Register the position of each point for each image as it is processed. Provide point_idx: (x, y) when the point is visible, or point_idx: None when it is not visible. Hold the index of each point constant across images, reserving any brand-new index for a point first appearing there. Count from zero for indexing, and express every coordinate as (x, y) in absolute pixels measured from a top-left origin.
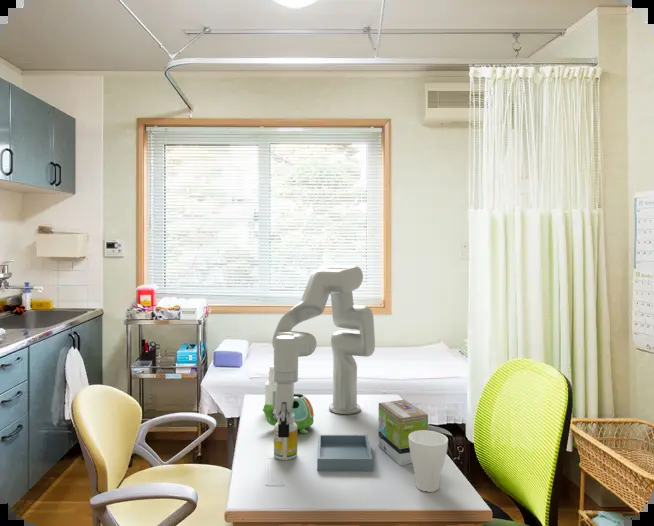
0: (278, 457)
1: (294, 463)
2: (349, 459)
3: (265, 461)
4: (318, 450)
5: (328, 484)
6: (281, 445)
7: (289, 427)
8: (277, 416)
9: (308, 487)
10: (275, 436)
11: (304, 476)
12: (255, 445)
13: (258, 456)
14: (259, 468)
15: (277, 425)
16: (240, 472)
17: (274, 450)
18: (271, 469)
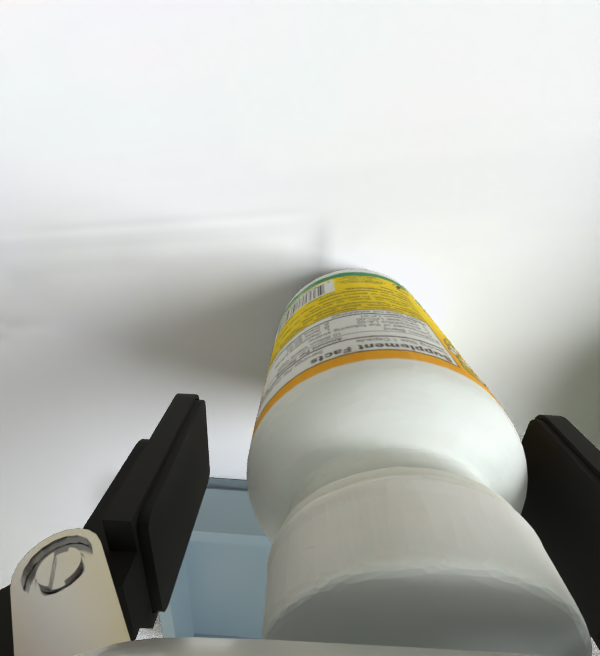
0: (289, 302)
1: (243, 383)
2: (162, 626)
3: (269, 212)
4: (252, 538)
5: (52, 502)
6: (271, 360)
7: (271, 541)
8: (401, 543)
9: (3, 434)
10: (311, 340)
11: (103, 423)
12: (582, 99)
13: (356, 150)
14: (161, 176)
15: (332, 430)
16: (77, 21)
17: (327, 284)
18: (156, 259)
